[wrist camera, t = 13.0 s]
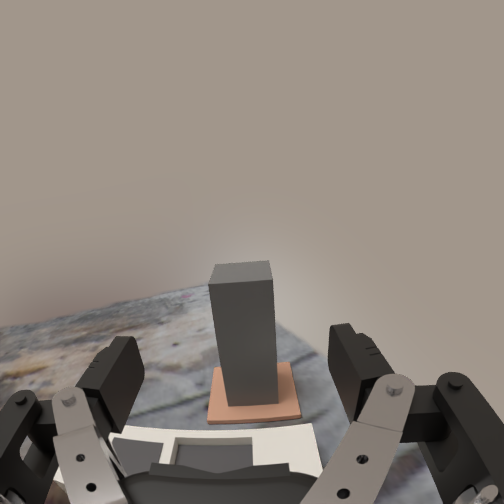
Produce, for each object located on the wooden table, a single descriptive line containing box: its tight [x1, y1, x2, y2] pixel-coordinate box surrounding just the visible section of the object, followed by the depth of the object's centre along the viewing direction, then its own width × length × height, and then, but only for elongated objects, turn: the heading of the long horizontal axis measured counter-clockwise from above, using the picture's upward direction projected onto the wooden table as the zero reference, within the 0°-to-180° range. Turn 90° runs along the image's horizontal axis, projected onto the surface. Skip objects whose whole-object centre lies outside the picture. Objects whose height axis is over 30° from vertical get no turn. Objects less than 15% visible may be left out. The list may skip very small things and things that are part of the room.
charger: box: [208, 261, 279, 407], centre depth 24 cm, size 4×5×12 cm
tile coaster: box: [207, 362, 301, 424], centre depth 26 cm, size 8×8×1 cm
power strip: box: [53, 423, 325, 493], centre depth 15 cm, size 22×7×4 cm, turn 91°
